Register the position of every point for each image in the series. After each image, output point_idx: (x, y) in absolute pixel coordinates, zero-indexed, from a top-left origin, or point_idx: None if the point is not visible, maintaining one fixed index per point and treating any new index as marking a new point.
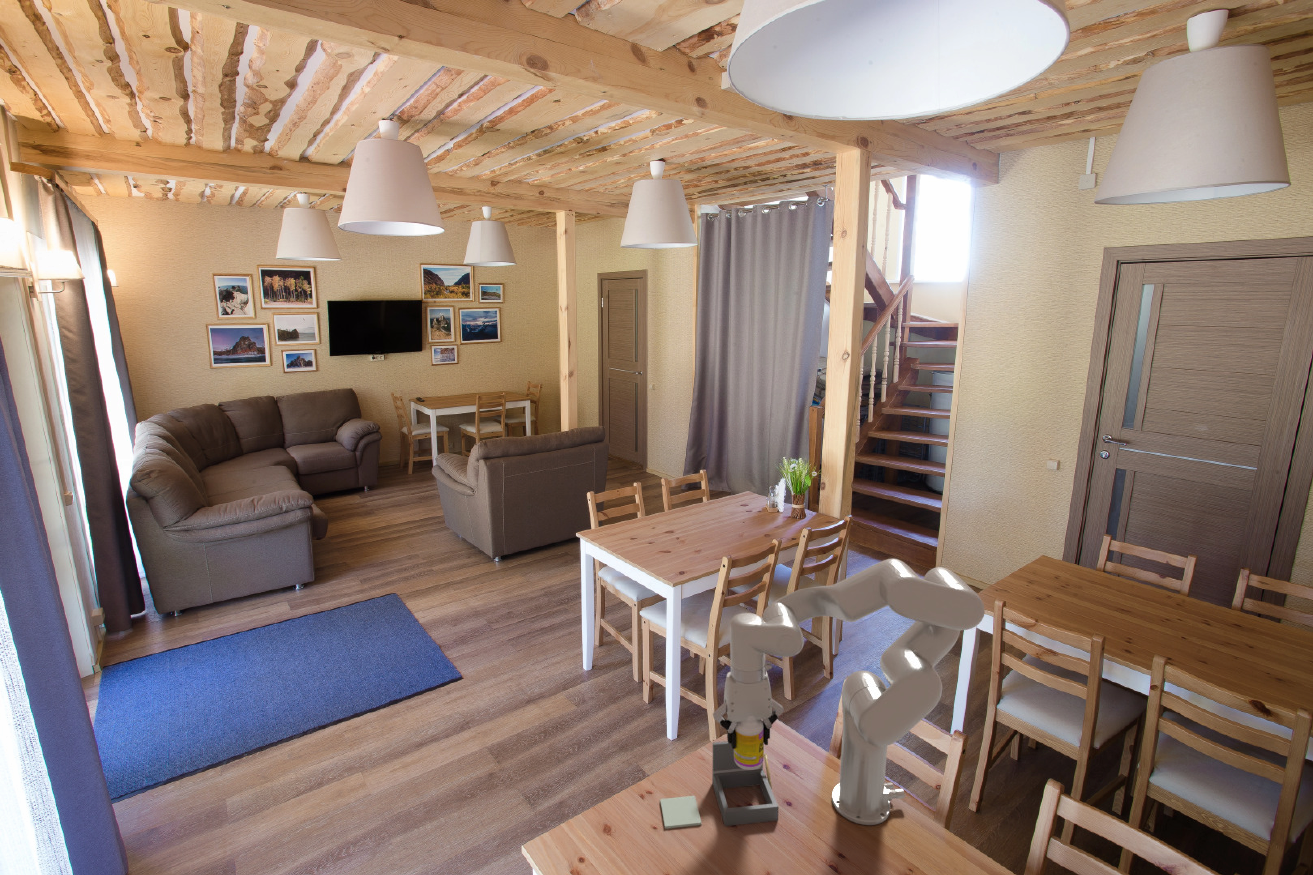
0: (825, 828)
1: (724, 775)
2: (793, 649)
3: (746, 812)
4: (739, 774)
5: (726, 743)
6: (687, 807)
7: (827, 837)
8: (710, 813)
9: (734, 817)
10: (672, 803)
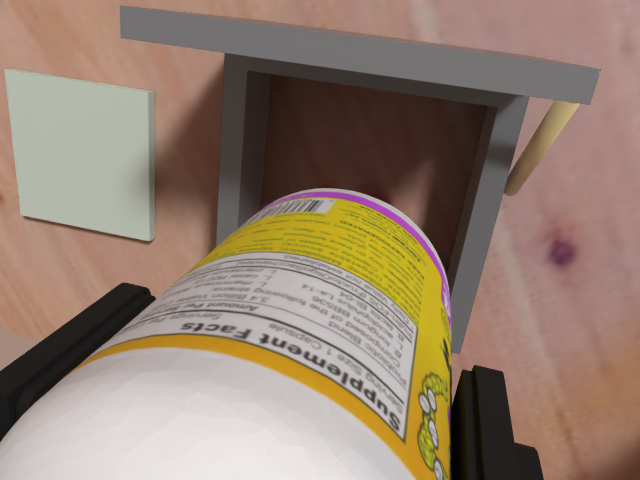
0: (624, 412)
1: (282, 74)
2: None
3: None
4: (370, 88)
5: (231, 52)
6: (108, 152)
7: (599, 444)
8: (201, 196)
9: None
10: (52, 109)
